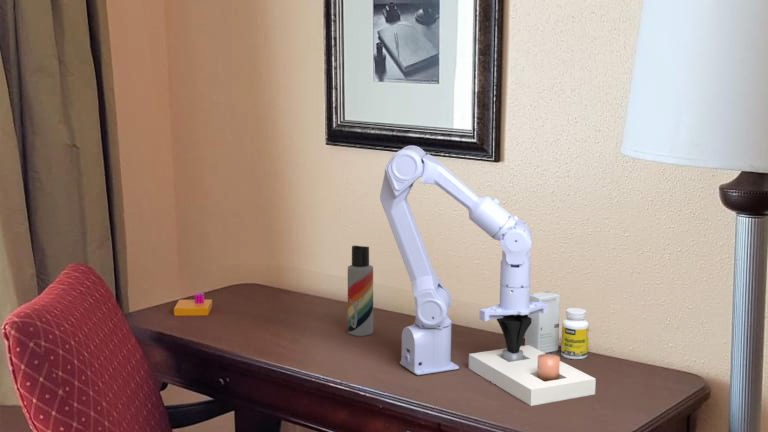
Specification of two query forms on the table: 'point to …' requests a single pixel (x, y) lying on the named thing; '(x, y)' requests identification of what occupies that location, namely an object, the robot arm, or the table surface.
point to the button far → (512, 356)
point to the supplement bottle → (575, 334)
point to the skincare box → (544, 323)
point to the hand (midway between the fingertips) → (513, 352)
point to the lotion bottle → (360, 293)
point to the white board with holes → (531, 377)
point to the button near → (548, 367)
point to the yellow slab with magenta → (193, 306)
